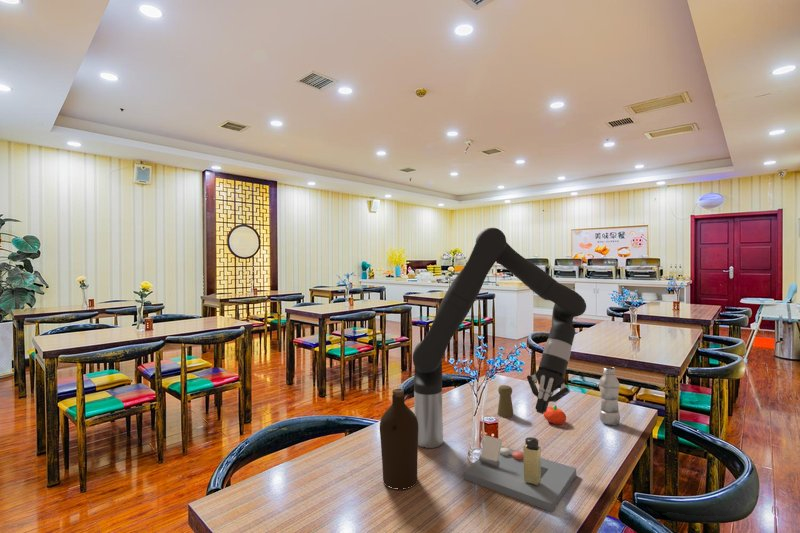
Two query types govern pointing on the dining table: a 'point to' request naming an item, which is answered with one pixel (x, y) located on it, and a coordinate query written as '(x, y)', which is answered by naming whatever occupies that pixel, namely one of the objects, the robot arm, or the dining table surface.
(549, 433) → the dining table surface
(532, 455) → the slide lever
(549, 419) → the pumpkin
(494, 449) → the cream rectangular block
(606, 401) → the plastic bottle
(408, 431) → the olive oil
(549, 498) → the control board
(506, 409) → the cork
